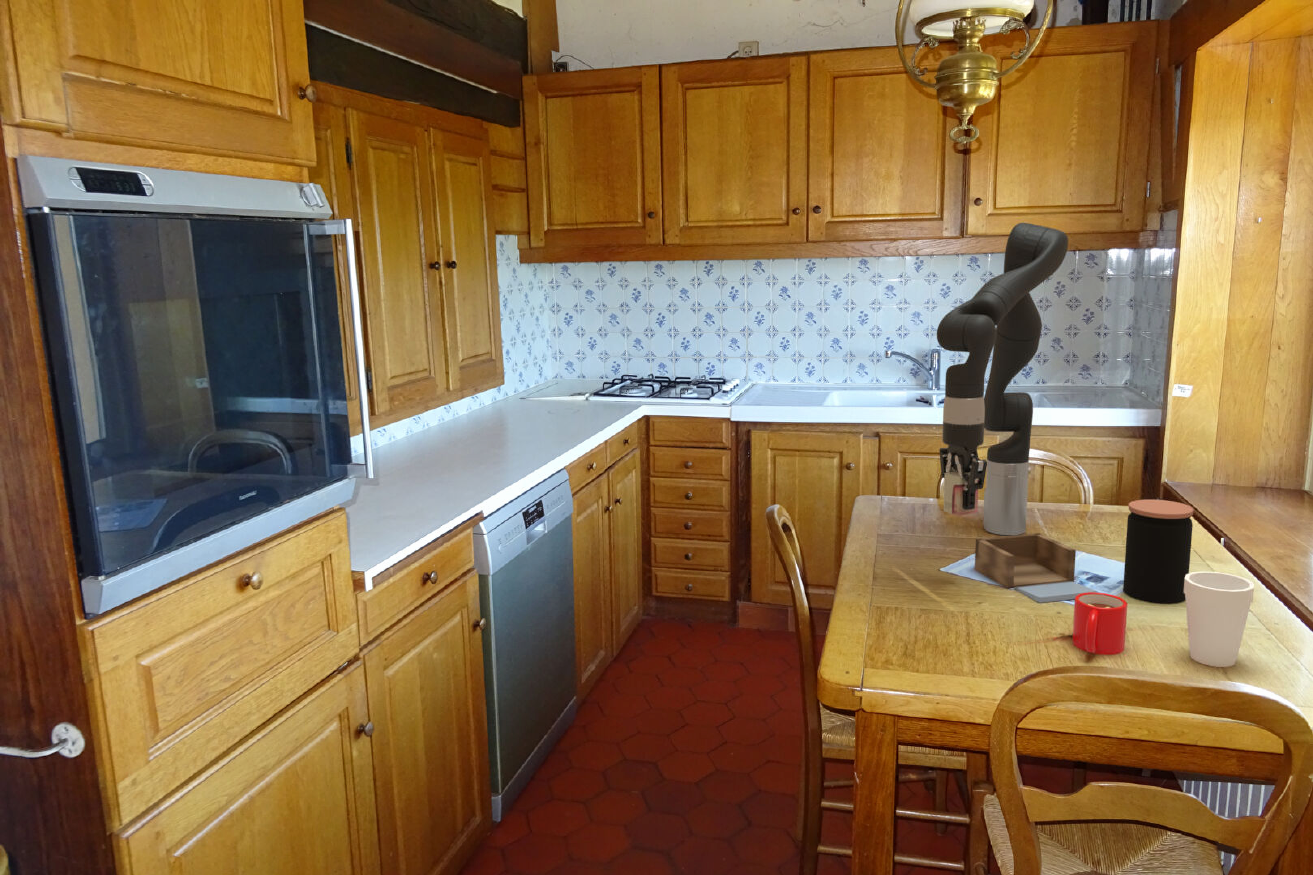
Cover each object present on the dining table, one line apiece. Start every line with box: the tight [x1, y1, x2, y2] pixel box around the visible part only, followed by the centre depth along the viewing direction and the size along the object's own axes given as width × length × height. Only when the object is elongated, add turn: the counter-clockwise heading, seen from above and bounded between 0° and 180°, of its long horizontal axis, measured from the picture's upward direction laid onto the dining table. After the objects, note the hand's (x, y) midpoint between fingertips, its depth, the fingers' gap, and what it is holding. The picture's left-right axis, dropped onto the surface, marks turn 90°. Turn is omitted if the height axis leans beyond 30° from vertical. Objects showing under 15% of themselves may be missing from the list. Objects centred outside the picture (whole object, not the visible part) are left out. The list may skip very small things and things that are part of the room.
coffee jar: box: [1122, 499, 1194, 605], centre depth 171 cm, size 11×11×18 cm
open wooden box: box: [974, 532, 1077, 590], centre depth 184 cm, size 12×14×8 cm
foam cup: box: [1184, 570, 1255, 668], centre depth 145 cm, size 10×9×13 cm
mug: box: [1071, 592, 1128, 656], centre depth 150 cm, size 8×12×8 cm, turn 146°
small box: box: [943, 471, 979, 517], centre depth 177 cm, size 5×4×8 cm
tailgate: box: [1013, 581, 1098, 604], centre depth 174 cm, size 1×12×8 cm
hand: (960, 504), depth 178 cm, fingers closed on small box, 5 cm apart
